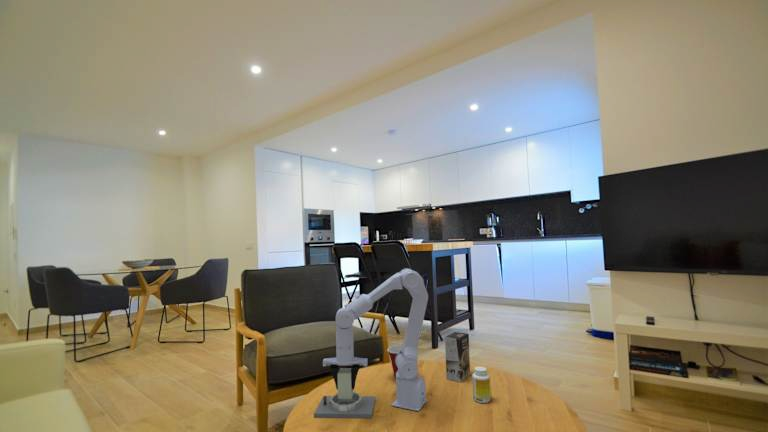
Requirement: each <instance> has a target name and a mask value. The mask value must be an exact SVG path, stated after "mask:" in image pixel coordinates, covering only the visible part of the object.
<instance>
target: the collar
mask: <svg viewBox="0 0 768 432" xmlns="http://www.w3.org/2000/svg"><path fill="white" fill-rule="evenodd" d="M326 396H327V395H324V396H322V398H323V404H324V405H326V404H327V399H326ZM330 396H331V398H330V407H331V409H332V410H334V411H336V412H351V411H355V410H357V409H358V408H360V407H361V405H362V396H363V395H361V394H360V393H359V392H357V391H354V394H353V396H352V399H355V400H358V401H356V402H355V403H351V404H347V405H344V404H337V403H334V402H336V401H338V400H341V399H338V392H337V393H335V394H333V395H330Z"/></svg>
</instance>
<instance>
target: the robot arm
mask: <svg viewBox="0 0 768 432" xmlns="http://www.w3.org/2000/svg"><path fill="white" fill-rule="evenodd" d="M403 287H404V288H405V289H406V290H407V291H408V292H409V294H410V296H411V297H412V302H411V305H410V310H409V315H408V319H407V324H406V327H405V328H406V329H405V333H404V337H403V340H402V341H403V342H402V346H401V348H400V351H399V353H398V354H397V356H396V358H395V363H396V366H397V367H398V371H397V373H396V379H395V388H396V389H395V391H396V399H395V400H394V401H393V402H392V403H391V406H393V407H398V408H401V409H406V410H411V411H416V412H419V411H420V410H421V409H422V407H423V406H424V405H425V404H426V403H427V401H428V399H427V393H426V392H427V390H426V387H427V386H426V379H425V378H424V377H421V376H419V375H418V373H419V367H418V358H419V357H418V346H419V342H420V338H421V333H422V329H423V323H424V320H425V315H426V310H427V305H428V302H429V301H428V300H429V294H428V291H427V288H426V285H425V281H424V278H423V277H422V276H421V275H420V273H419V272H418V271H415V270H413V269H411V268H407V267H406V268H403V269H401V270H400V271H399V272H396V273H395V274H393V275H392V276H390V277H389V278H387V279H386V280H385V281H383V282H382V283H381V284H380V285H378V286H377V287H376V288H375V289H373V290H372V291H371V292H369V293H368V294H365V293H362V294H357V295H356V296H355V299H353V300H352V301H351V302H349V303H348V304H347V303H345V304H344V306H343V307H340V308H339V309H338V310H337V312H336V314H335V323H336V326H335V328H336V332H335V349H336V350H335V355H336V356H335V357H328V358H323V360H322V367H327V366H329V372H330V374H331V376H332V378H333V381H334V384H335V389H336V390H338V375H337V373H338V371H339V370H340V368H341V366H342V367H343V366H344V367H346V366H352V367H350V368H351V375H352V390H355V387H356V381H357V376H358V374H359V371H360V368H361V367H362V366H363V367H367V366H368V358H364V357H363V358H362V357H356V356H355V355H354V353H355V350H354V349H355V347H354V330H353V324H354V322H355V320H358V319H360V318H362V316H364V315H365V314H366V313H368V312H369V311H371V309H373V306H374V303H375V302H376V301H378V300H380V299H382V298H383V297H385V296H386V295H387V294H389V293H390V292H392V291H394V290H403Z"/></svg>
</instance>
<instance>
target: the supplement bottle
mask: <svg viewBox="0 0 768 432" xmlns="http://www.w3.org/2000/svg"><path fill="white" fill-rule="evenodd" d="M471 378H472V395H473V400H474V401H475V402H478V403H481V404H488V403H489V402H490V401H491V386H490V384H491V383H490V381H491V379H490V375H489V373H488V371H487V368H486V367H484V366H475V367H474V372H473V373H472V377H471Z"/></svg>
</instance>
